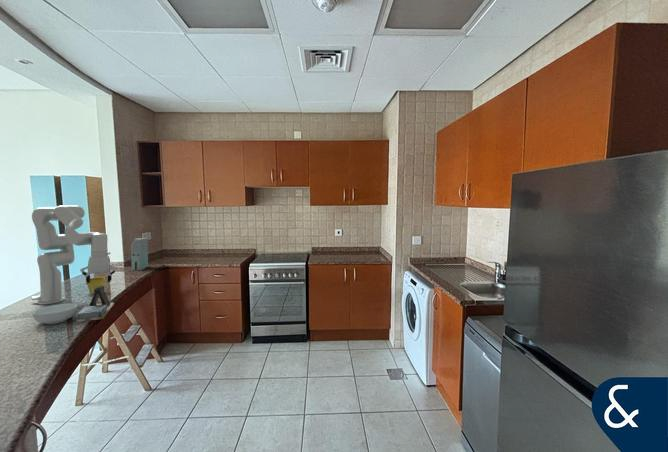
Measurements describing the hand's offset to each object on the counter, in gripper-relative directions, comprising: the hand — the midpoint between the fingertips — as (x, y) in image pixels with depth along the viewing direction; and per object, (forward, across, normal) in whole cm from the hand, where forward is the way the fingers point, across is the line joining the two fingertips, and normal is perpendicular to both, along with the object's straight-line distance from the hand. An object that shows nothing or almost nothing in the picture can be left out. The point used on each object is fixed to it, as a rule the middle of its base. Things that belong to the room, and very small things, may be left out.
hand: (98, 282), depth 169 cm
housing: (+14, -1, +15) cm, 21 cm away
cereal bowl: (+16, +14, +15) cm, 26 cm away
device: (+19, -4, -122) cm, 123 cm away
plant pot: (+17, +11, -40) cm, 45 cm away
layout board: (+16, -1, +7) cm, 18 cm away
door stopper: (+15, -1, +1) cm, 15 cm away
